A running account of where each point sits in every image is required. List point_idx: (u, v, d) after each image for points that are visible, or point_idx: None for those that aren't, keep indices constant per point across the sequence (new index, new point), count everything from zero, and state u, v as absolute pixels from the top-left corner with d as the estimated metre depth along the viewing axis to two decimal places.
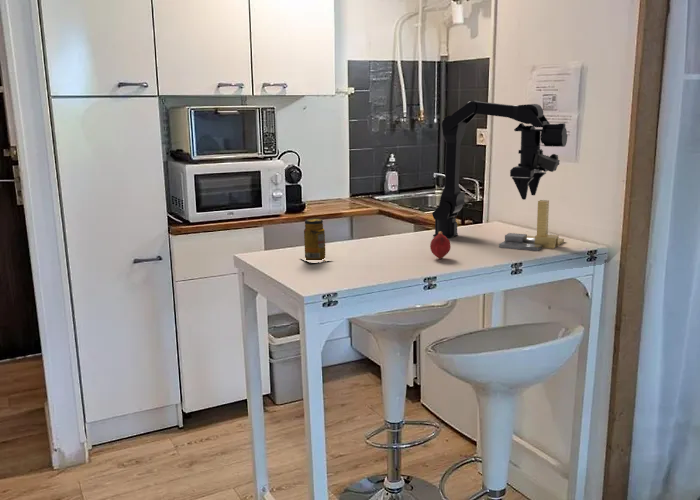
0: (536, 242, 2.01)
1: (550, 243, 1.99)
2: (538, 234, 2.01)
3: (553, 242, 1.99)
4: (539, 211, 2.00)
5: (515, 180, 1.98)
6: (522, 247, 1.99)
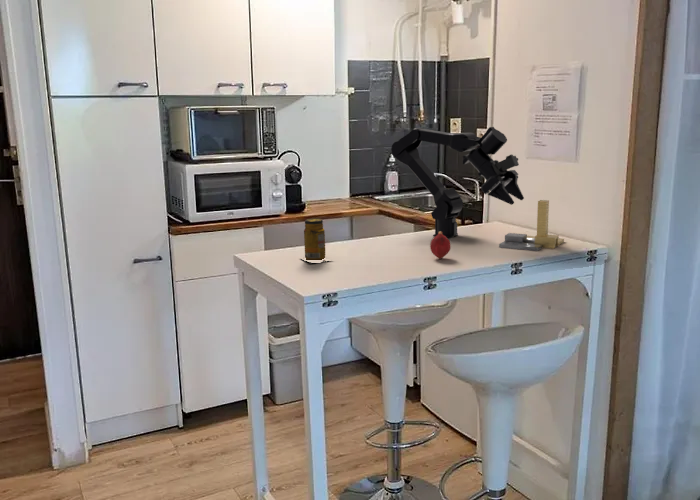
0: (536, 242, 2.01)
1: (550, 243, 1.99)
2: (538, 234, 2.01)
3: (553, 242, 1.99)
4: (539, 211, 2.00)
5: (493, 194, 2.01)
6: (522, 247, 1.99)
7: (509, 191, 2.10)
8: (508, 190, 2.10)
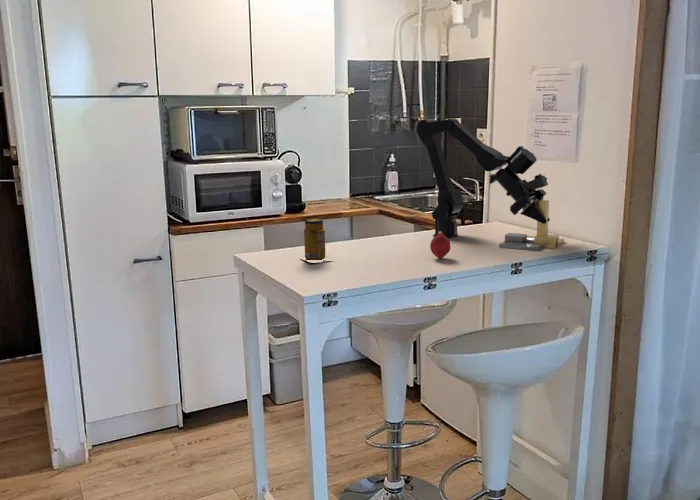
0: (536, 242, 2.01)
1: (550, 243, 1.99)
2: (538, 234, 2.01)
3: (553, 242, 1.99)
4: None
5: (525, 213, 2.00)
6: (522, 247, 1.99)
7: None
8: None
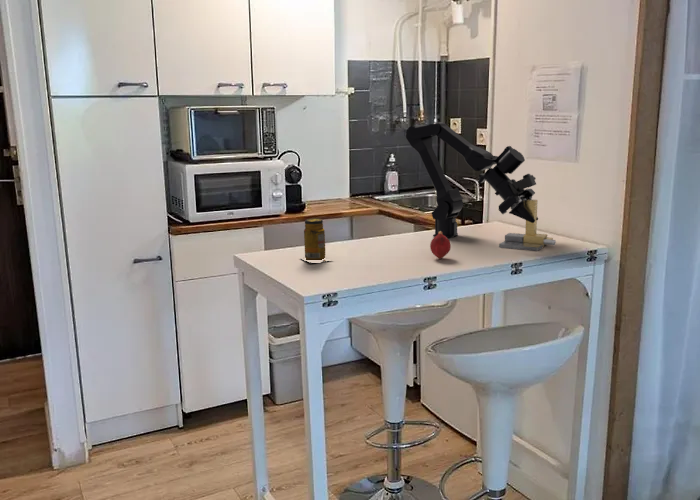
0: (525, 241, 2.03)
1: (538, 242, 2.01)
2: (527, 233, 2.03)
3: (541, 241, 2.00)
4: None
5: (513, 213, 2.02)
6: (522, 247, 1.99)
7: None
8: None
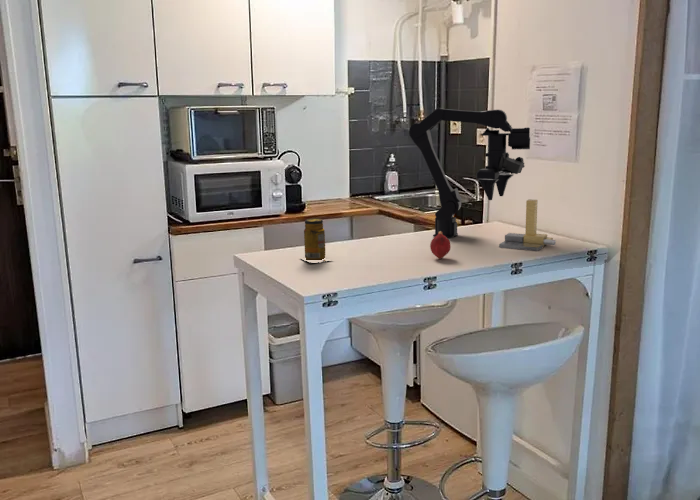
0: (525, 241, 2.03)
1: (538, 242, 2.01)
2: (527, 233, 2.03)
3: (541, 241, 2.00)
4: (528, 210, 2.02)
5: (481, 182, 2.09)
6: (522, 247, 1.99)
7: (497, 181, 2.18)
8: None
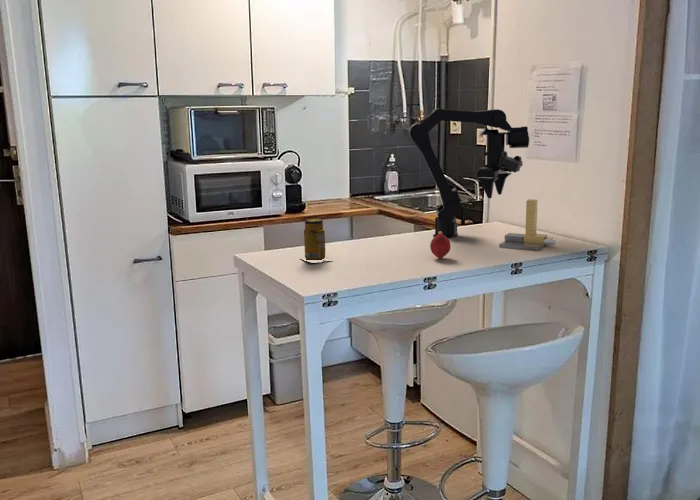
0: (525, 241, 2.03)
1: (538, 242, 2.01)
2: (527, 233, 2.03)
3: (541, 241, 2.00)
4: (528, 210, 2.02)
5: (481, 180, 2.13)
6: (522, 247, 1.99)
7: (496, 180, 2.22)
8: None
